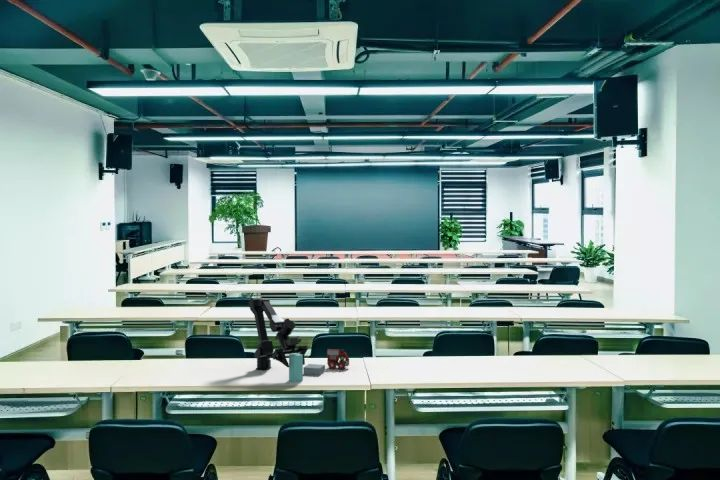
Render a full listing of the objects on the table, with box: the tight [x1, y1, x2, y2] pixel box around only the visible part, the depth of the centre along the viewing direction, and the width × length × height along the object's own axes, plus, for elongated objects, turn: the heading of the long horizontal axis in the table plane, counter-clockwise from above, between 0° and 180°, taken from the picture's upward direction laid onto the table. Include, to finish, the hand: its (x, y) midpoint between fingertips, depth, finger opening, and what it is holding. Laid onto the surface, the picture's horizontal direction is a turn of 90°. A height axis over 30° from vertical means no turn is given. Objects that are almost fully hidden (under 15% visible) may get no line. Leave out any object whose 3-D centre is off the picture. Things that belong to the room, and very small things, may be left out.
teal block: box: [288, 353, 304, 383], centre depth 315 cm, size 5×5×13 cm
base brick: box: [303, 363, 326, 376], centre depth 331 cm, size 9×9×4 cm
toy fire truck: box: [326, 348, 350, 371], centre depth 343 cm, size 7×12×10 cm, turn 82°
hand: (296, 365), depth 314 cm, fingers open, 9 cm apart
